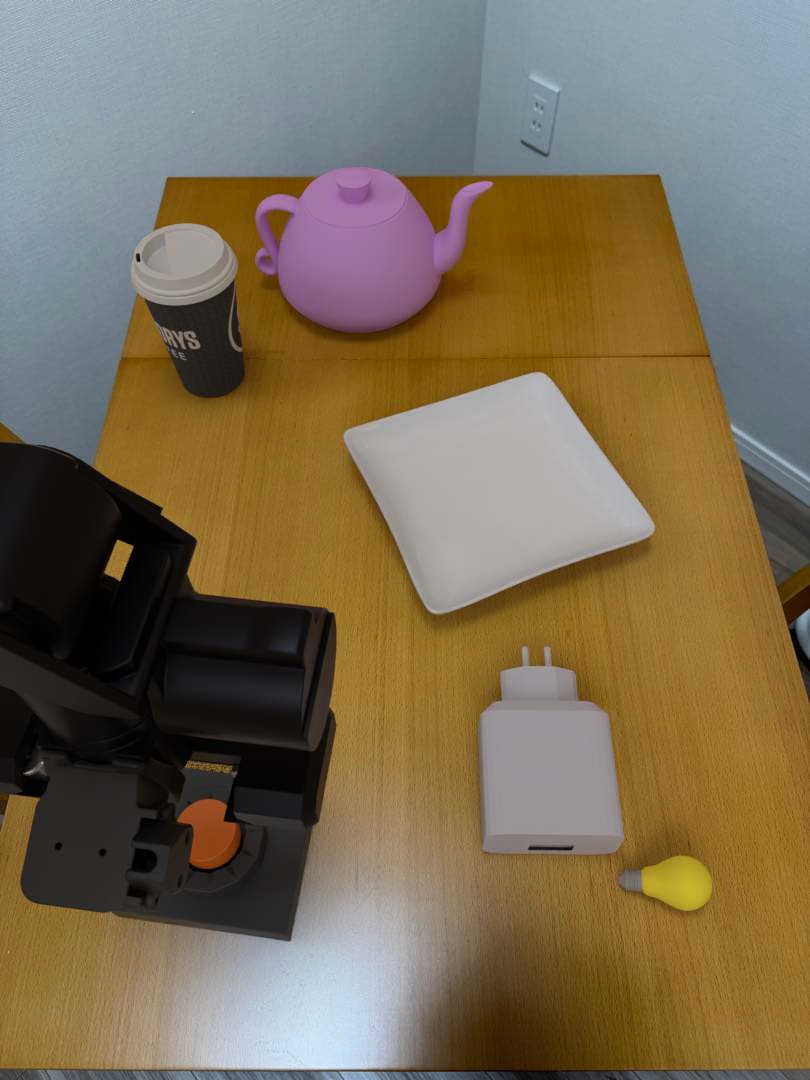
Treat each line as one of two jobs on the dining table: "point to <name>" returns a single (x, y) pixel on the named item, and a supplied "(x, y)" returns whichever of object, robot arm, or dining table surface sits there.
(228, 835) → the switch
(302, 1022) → the dining table surface
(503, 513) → the plate
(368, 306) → the teapot
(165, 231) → the coffee cup
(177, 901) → the switch base
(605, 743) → the charger
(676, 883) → the light bulb
